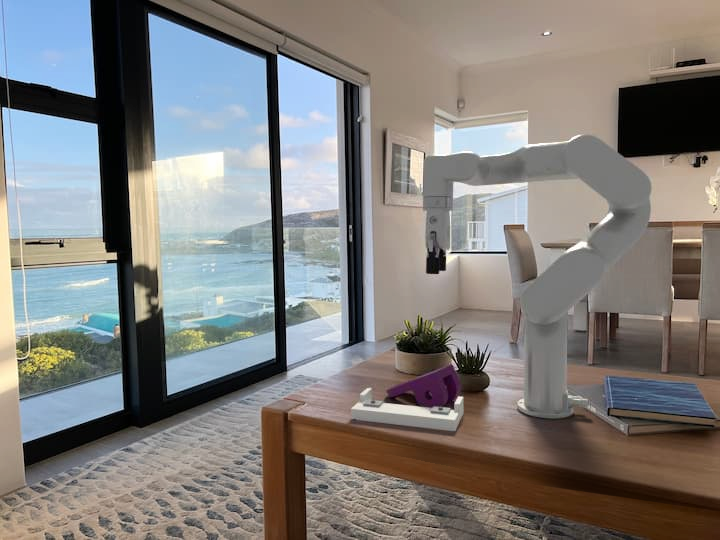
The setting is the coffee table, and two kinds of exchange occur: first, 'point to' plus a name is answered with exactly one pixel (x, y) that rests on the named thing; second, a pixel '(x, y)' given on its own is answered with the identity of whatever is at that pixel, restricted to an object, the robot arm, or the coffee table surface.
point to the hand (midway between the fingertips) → (436, 272)
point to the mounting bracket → (431, 387)
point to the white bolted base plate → (407, 413)
